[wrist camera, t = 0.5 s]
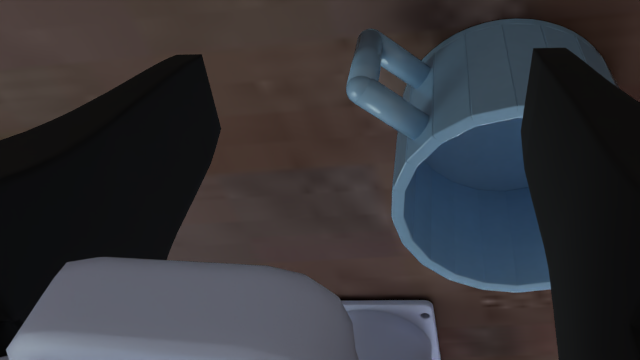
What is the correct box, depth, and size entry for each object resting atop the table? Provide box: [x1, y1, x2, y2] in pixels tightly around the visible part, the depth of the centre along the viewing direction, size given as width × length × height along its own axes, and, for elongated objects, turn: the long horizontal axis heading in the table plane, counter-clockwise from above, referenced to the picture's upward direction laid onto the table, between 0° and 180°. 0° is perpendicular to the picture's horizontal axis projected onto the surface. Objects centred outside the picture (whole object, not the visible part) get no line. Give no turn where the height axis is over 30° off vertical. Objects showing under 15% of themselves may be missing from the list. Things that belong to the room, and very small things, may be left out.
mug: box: [346, 18, 619, 293], centre depth 21 cm, size 11×8×6 cm
